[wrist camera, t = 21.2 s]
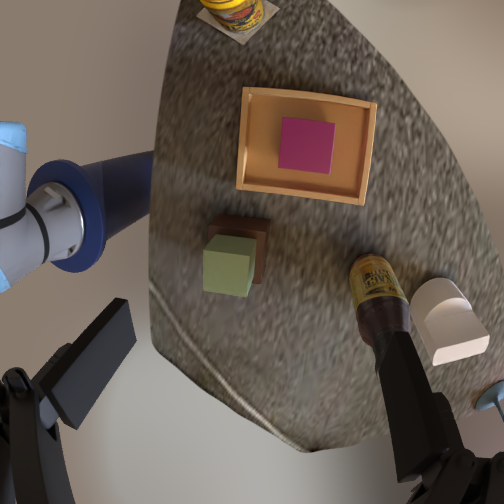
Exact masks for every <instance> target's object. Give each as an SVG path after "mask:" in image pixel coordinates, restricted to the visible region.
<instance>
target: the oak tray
mask: <svg viewBox="0 0 504 504" xmlns="http://www.w3.org/2000/svg"><path fill="white" fill-rule="evenodd" d="M376 108H377V103H373V102H369V101H364V100H358V99H353V98H348V97H342V96H336V95H329V94H322V93H315V92H307V91H298V90H287V89H275V88H260V87H243V93H242V106H241V119H240V133H239V148H238V163H237V179H236V189H238V190H248V191H258V192H267V193H276V194H284V195H293V196H301V197H308V198H316V199H323V200H330V201H337V202H343V203H350V204H356V205H357V204H358V205H364V201H365V195H366V189H367V183H368V176H369V170H370V162H371V155H372V147H373V139H374V129H375V119H376ZM282 117H289V118H298V119H307V120H315V121H322V122H329V123H335V124H336V125H335V135H334V145H333V154H332V162H331V170H330V174H322V173H315V172H308V171H300V170H291V169H283V168H278V162H279V151H280V140H281V128H282Z"/></svg>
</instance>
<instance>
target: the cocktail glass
mask: <svg viewBox="0 0 504 504" xmlns="http://www.w3.org/2000/svg"><path fill="white" fill-rule="evenodd" d="M503 397H504V380H503V381H500V382H498V383H496V384H494V385H493V386H491V387H490V388H489V389H487V390H486V391H485V392H484V393H483V394H482V395H481V396H480V398H479V399H478V401H477V403H476V408H477V409H478V410H485V409H487V408H490V407H492V406H493V405H496V407H497V408H498V410H499V412H500V414H501V416H502V419H503V421H504V415H503V412H502V410H501V407H500V404H499V401H500V400H501V399H502V398H503Z"/></svg>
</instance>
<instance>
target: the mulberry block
mask: <svg viewBox="0 0 504 504" xmlns="http://www.w3.org/2000/svg"><path fill="white" fill-rule="evenodd" d="M335 125H336V124H335V123H329V122H322V121H315V120H307V119H298V118H289V117H282V128H281V140H280V151H279V162H278V168H283V169H291V170H300V171H308V172H315V173H322V174H330V170H331V162H332V154H333V145H334V135H335Z"/></svg>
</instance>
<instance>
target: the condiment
mask: <svg viewBox="0 0 504 504" xmlns="http://www.w3.org/2000/svg"><path fill="white" fill-rule="evenodd" d="M199 1H200V2H201V3H202V5H203V6H204V8H203V9H202V10H201V11H200V12H199V13H198V14H197V16H196V17H198V18H200V19H202V20H203V21H205V22H207V23H209V24H210V25H212V26H214V27H215V28H217V29H218V30H220V31H222V32H223V33H225V34H227V35H228V36H230V37H231V38H233V39H234V40H236V41H237V42H239V43H241V44H242V45H244V44H245V43H246V42H247V41H248V40H249V39H250V38H251V37H252V36H253V35H254V34H255V33H256V32H257V31H258V30H259V29H260V28H261V27H262V26H263V25H264V24H265V23H266V22H267V21H268V20H269V19H270V18H271V17H272V16H273V15H274V14H275V13H276V12H277V11H278V10H279V9H280V8H278V7H277V6H275V5H273V4H271V3H270V2H268V1H266V0H199Z"/></svg>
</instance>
